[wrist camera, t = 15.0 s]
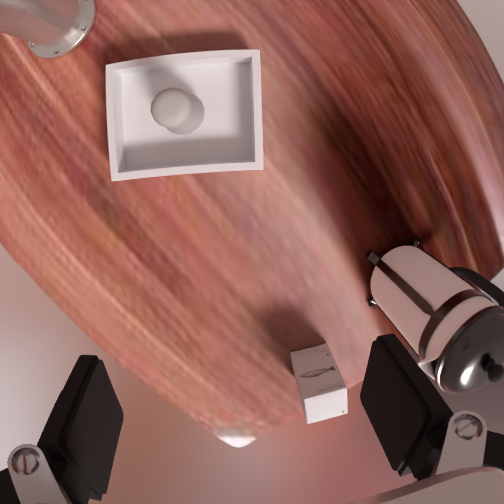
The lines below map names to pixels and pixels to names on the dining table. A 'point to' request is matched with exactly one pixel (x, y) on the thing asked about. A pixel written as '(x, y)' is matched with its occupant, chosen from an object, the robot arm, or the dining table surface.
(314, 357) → the supplement box
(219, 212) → the dining table surface
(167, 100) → the salt shaker
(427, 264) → the coffee press
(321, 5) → the dining table surface
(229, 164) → the bin
